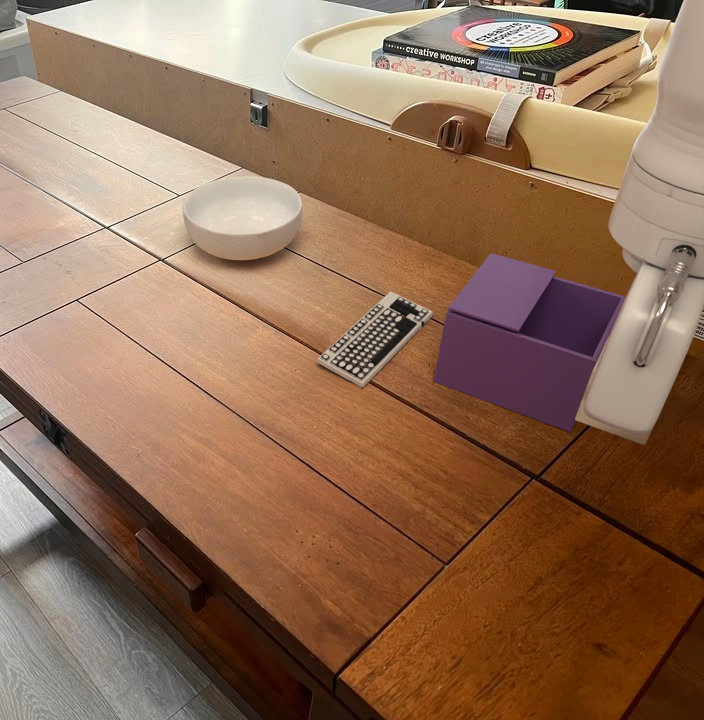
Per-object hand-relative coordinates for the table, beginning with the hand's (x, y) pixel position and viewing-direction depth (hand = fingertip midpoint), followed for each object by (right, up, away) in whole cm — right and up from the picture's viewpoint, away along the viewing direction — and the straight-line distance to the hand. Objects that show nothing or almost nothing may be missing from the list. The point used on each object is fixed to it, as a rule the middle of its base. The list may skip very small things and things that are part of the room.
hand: (624, 395), depth 52 cm
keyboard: (-9, +5, +40) cm, 41 cm away
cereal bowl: (-25, +19, +58) cm, 66 cm away
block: (0, -1, +1) cm, 2 cm away
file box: (+6, +1, +35) cm, 35 cm away
